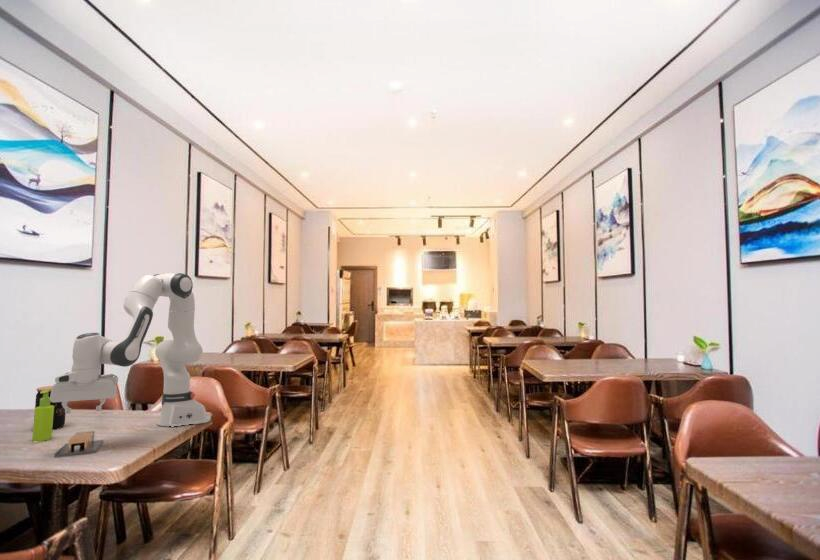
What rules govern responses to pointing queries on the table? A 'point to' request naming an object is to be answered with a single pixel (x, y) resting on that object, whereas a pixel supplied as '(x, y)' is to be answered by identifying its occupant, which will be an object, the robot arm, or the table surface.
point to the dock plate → (83, 451)
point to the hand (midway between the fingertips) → (83, 411)
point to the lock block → (81, 440)
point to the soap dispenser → (43, 419)
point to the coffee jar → (58, 408)
